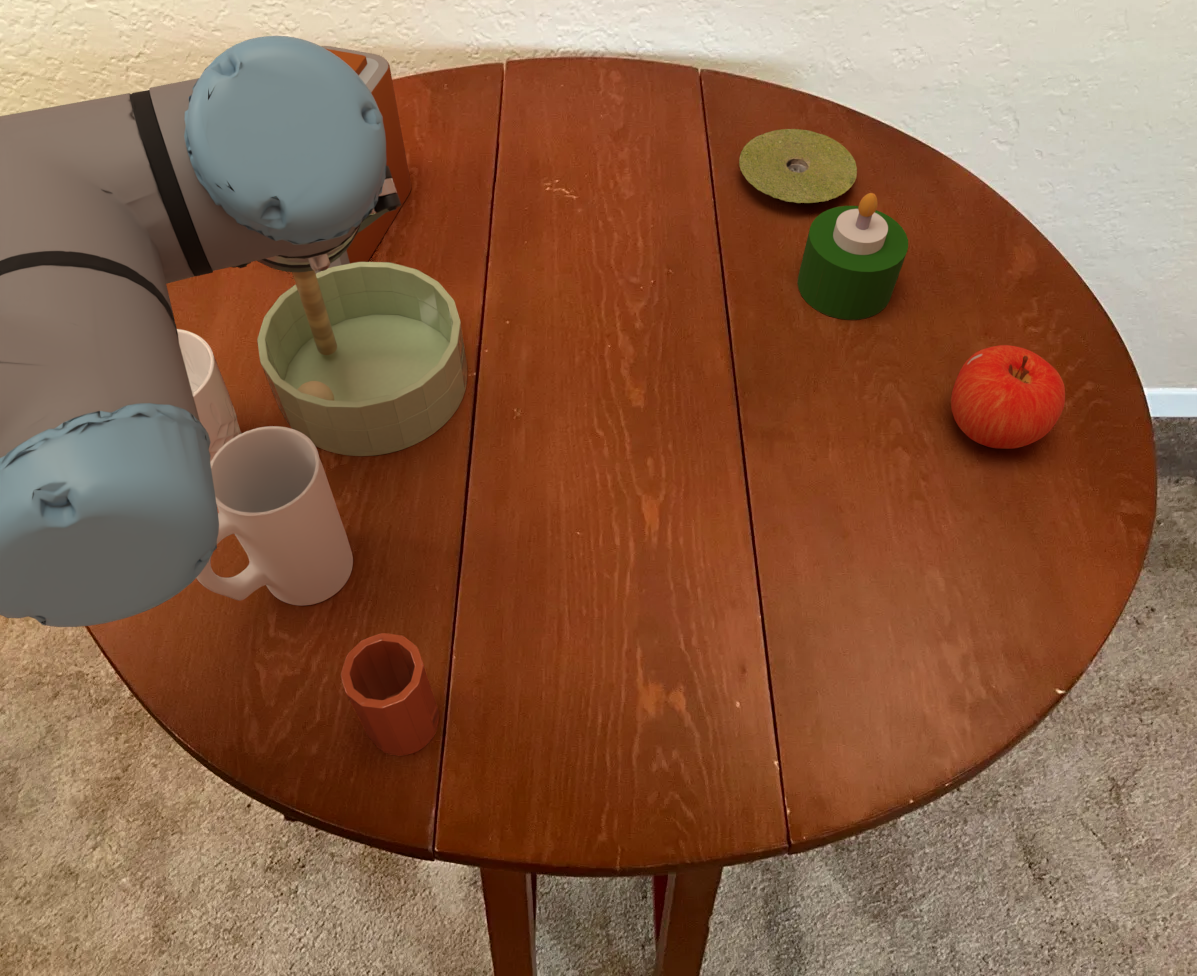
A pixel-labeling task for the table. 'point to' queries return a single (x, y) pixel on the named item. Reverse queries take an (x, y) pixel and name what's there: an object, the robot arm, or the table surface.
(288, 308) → the bowl
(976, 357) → the apple
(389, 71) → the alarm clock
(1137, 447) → the table surface
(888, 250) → the candle
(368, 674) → the crock
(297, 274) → the stick
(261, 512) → the mug
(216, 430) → the white cup
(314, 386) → the dough ball
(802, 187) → the mat
